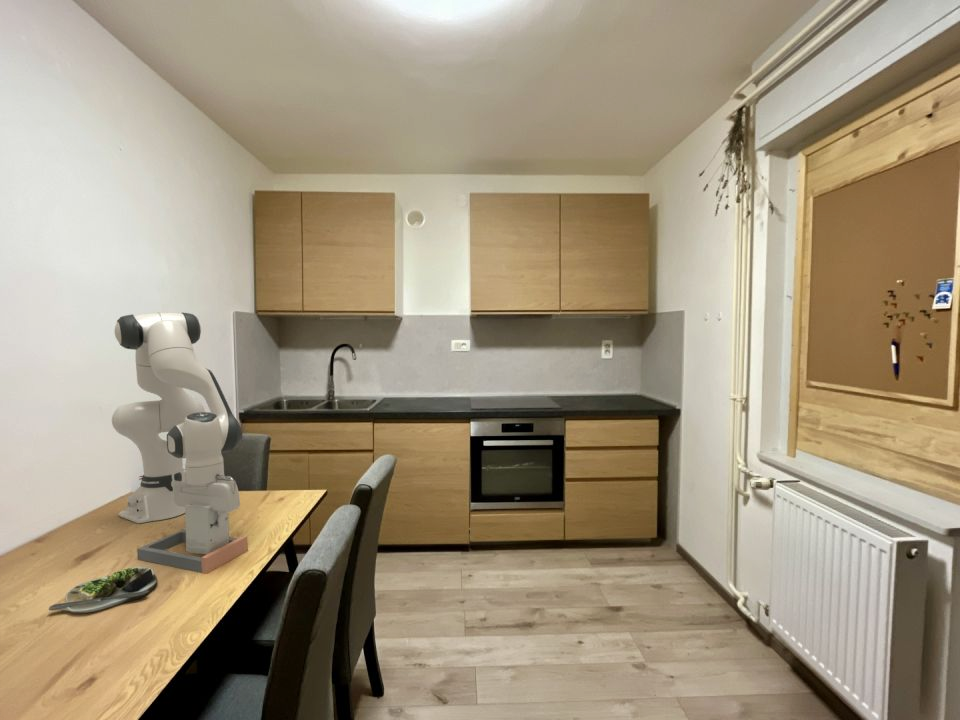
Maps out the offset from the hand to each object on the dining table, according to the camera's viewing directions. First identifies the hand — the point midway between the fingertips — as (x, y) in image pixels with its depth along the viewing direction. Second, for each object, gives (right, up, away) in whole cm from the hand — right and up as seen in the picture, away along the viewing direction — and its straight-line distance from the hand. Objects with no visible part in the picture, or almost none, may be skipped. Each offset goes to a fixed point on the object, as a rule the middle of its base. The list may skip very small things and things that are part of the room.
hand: (207, 524), depth 123 cm
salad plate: (-13, -11, -15) cm, 23 cm away
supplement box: (0, -7, 0) cm, 7 cm away
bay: (-5, -9, +3) cm, 11 cm away
